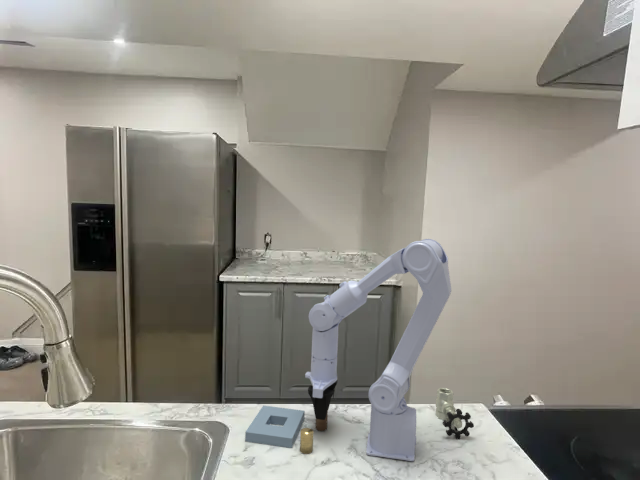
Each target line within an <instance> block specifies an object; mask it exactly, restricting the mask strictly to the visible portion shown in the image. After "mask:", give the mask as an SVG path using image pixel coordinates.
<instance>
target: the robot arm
mask: <svg viewBox="0 0 640 480" xmlns="http://www.w3.org/2000/svg"><path fill="white" fill-rule="evenodd" d="M407 273H410V274H411V275H412V276H413V277H414V279H416V281H417V283H418V285H419V287H420V289H421V291H422V295H421V296H420V299H419V301H418V303H417V305H416V307H415V309H414V311H413V314H412V316H410V317H411V318H410V319H409V321H408V324H407V325H406V328H405V330H404V331H403V334H402V335H401V338H400V340H399V342H398V345H397V346H396V348H395V351H394V353H393V354H392V356H391V359H390V360H389V362H388V364H387V365H386V367H385V369H384V370H383V371H382V373H381V375H380V376H379V377H378V379H377V380H376V381H375V382H373V383H372V384H371V386H370V388H369V389H368V400H369V402H370V404H371V405H370V420H369V421H370V423H369V424H370V425H369V432H368V434H367V443H366V450H365V453H366V455H367V456H372V457H373V456H374V457H379V458H380V457H381V458H387V459H393V460H400V461H407V462H414V461H415V454H416V453H415V452H416V445H417V409H416V408H415V407H412V406H408V404H407V401H406V399H405V395H406V394H407V393H408V391H409V390H410V386H411V383H410V382H411V381H410V378H411V374H413V371H414V368H415V365H416V364H417V361H418V359H419V358H420V356H421V354H422V352H423V350H424V348H425V345H426V343H427V342H428V340H429V337H430V336H431V334H432V331H433V330H434V328H435V326H436V325H437V322H438V321H439V318H440V316H441V314H442V312H443V311H444V308H445V307H446V304H447V302H448V301H449V299H450V296H451V293H452V283H451V276H450V271H449V257H448V256H447V253H446V251H445V249H444V248H443V246H442V245H441V244H440V243H439V242H438V241H437V240H436V239H432V238H424V239H421V240H415V241H413V242H410V243H408V245H406V247H403V248H401V249H399V250H397V251H396V252H394V253H392V254H391V255H389V256H388V257H386V258H385V259H384V260H383V261H382V262H380V263H379V264H378V265H376V266H375V267H374V268H373V269H372V270H371V271H370V272H368V273H367V274H366V275H365V276H363V277H362V278H361V279H359V281H358V280H349V281H346V280H344V281H342V282H341V283H340V284H339V288H337V290H335V291H334V292H333V293H331V294H328V295H326V296H324V297H323V300H324V301H323V302H320V303H316V304H314V305H313V306H312V307H311V308H310V310H309V313H308V322H309V324H310V325H311V327H312V332H311V333H312V335H311V360H310V361H311V362H310V371H306V372H305V374H304V375H305V379H309V380H310V383H311V385H309V386H308V388H307V393H308V396H309V397H310V400H311V402H312V405H313V412H314V416H315V420H316V419H320V420H325V418H326V415H327V411H328V412H329V409H330V404H331V400H332V397H333V396H334V393H335V388H336V386H337V384H338V373H337V368H338V352H339V351H338V348H339V347H338V346H339V324H341V322H342V320H344V319H345V318H346V317H348V316H349V315H351V314H352V313H354V312H355V311H357V310H358V309H359V308H360V307H362V306H363V305H365V304H366V303H367V301H368V294H369V293H371V292H372V291H373V290H375V289H376V288H377V287H379V286H380V285H383V283H384V282H387V281H388V280H389V279H391V278H392V277H393V276H395V275H400V274H401V275H402V274H403V275H404V274H407Z"/></svg>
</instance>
